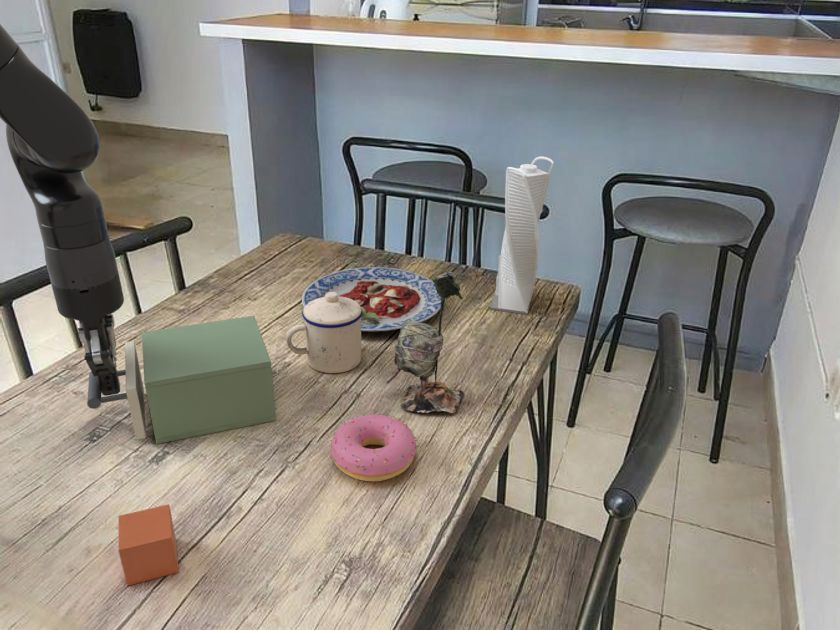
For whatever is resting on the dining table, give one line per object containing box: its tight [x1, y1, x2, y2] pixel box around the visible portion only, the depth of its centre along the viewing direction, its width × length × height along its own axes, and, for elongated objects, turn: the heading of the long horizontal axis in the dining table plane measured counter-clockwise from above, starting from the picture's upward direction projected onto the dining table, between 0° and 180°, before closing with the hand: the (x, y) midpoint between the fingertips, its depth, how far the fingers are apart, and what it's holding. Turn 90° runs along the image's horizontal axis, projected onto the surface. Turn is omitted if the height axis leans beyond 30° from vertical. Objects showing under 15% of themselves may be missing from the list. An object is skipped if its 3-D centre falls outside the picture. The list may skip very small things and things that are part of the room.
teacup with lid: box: [285, 292, 363, 374], centre depth 105 cm, size 12×9×12 cm
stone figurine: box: [385, 271, 466, 414], centre depth 94 cm, size 8×11×20 cm
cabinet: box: [141, 315, 277, 445], centre depth 95 cm, size 16×14×10 cm
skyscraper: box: [489, 155, 555, 315], centre depth 120 cm, size 8×8×28 cm
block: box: [117, 504, 180, 586], centre depth 71 cm, size 5×5×5 cm
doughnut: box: [329, 413, 418, 482], centre depth 86 cm, size 11×11×4 cm
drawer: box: [86, 340, 147, 440], centre depth 93 cm, size 20×12×8 cm, turn 111°
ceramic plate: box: [301, 266, 442, 332], centre depth 124 cm, size 26×26×3 cm
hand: (111, 391), depth 90 cm, fingers closed
